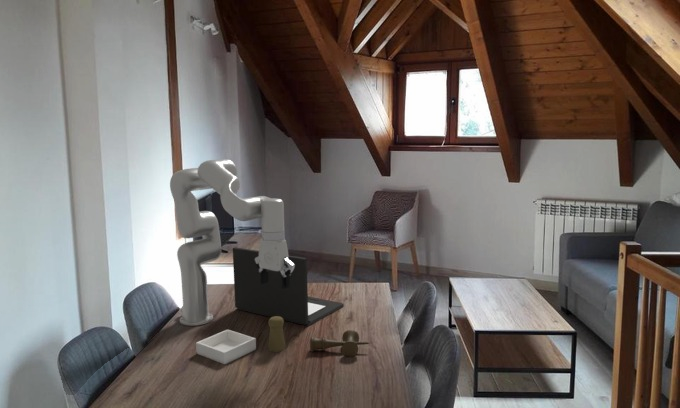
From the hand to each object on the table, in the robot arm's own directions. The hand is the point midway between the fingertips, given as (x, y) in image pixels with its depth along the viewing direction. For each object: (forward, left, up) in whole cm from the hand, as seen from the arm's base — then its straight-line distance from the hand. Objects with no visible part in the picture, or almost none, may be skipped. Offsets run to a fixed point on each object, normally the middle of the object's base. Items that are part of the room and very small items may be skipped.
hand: (275, 285), depth 179 cm
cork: (0, 0, -23) cm, 23 cm away
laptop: (-23, +33, -23) cm, 46 cm away
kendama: (+19, +11, -23) cm, 32 cm away
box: (-12, -12, -22) cm, 28 cm away
